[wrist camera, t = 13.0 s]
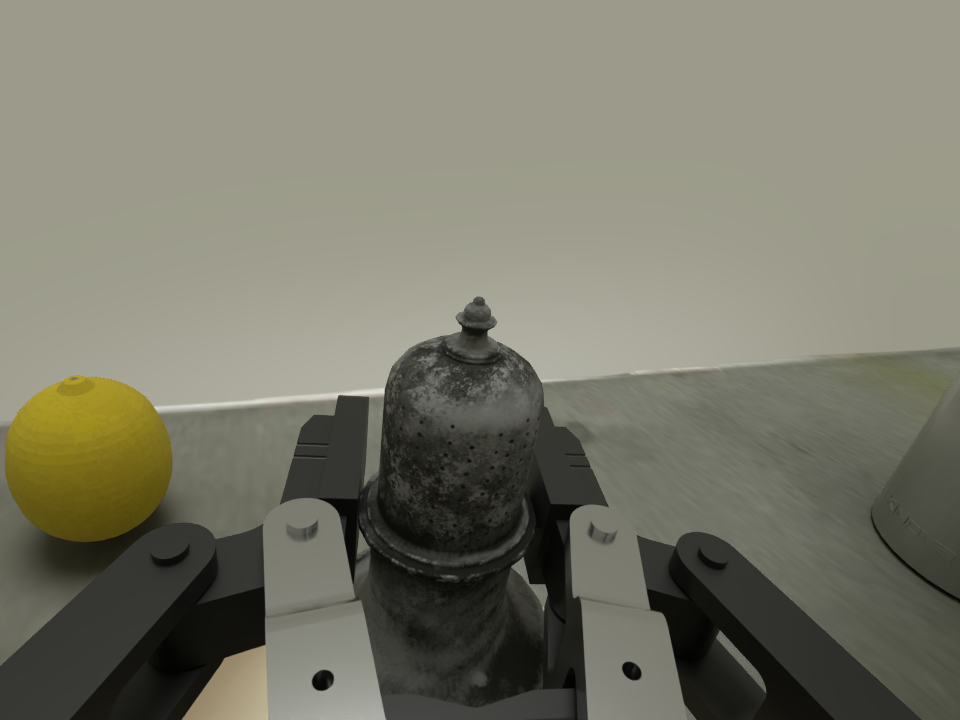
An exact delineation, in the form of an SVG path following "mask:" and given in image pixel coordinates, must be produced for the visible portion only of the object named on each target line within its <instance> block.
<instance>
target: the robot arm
mask: <svg viewBox="0 0 960 720" xmlns="http://www.w3.org/2000/svg"><path fill="white" fill-rule="evenodd" d="M368 411H369V397H362V396H343V395H339V396H338V400H337V405H336V410H335V415H334V416H328V415H314V416H313V417H311V418H310V419H309V420H308V421H307V422H306V423H305V424H304V425H303V426H302V427H301V431H300V434H299V438H298V441H297V445H296V449H295V452H294V458H293V460H292V463H291V467H290V470H289V474H288V478H287V481H286V485H285V488H284V492H283V496H282V499H281V503H280V505H279V506H277V507H276V508H275V509H273V510H272V511H271V512H270V513H269V514H268V516H267V517H266V519H265V521H264V524H262V525H261V526H259V527H257V528H255V529H253V530H250V531H247V532H244V533H241V534H237V535H232V536H228V537H224V538H219V539H215V538H214V536H213V534H212V533H211V532H210V531H209V530H208V529H206V528H205V527H203V526H200V525H197V524H193V523H175V524H169V525H165V526H162V527H159V528H157V529H154V530H152V531H150V532H148V533H147V534H145V535H143V536H142V537H140V538H139V539H138V540H137V541H136V542H134V543H133V544H132V545H131V546H130V547H129V548H128V549H127V550H126V551H125V552H124V553H123V554H121V555H120V556H119V557H118V558H117V559H116V560H115V561H114V562H113V563H112V564H111V565H109V566H108V567H107V568H106V569H105V570H104V571H103V572H102V573H101V574H100V575H99V576H98V577H96V578H95V579H94V580H93V581H92V582H91V583H90V584H89V585H88V586H87V587H86V588H84V589H83V590H82V591H81V592H80V593H79V594H78V595H77V596H76V597H75V598H74V599H73V600H71V601H70V602H69V603H68V604H67V605H66V606H65V607H64V608H63V609H62V610H61V611H59V612H58V613H57V614H56V615H55V616H54V617H53V618H52V619H51V620H50V621H49V622H48V623H46V624H45V625H44V626H43V627H42V628H41V629H40V630H39V631H38V632H37V633H36V634H35V635H33V636H32V637H31V638H30V639H29V640H28V641H27V642H26V643H25V644H24V645H23V646H21V647H20V648H19V649H18V650H17V651H16V652H15V653H14V654H13V655H12V656H11V657H10V658H8V659H7V660H6V661H5V662H4V663H3V664H2V665H1V666H0V720H182V719H183V717H184V716H185V715H186V713H187V712H188V710H189V709H190V708H191V706H192V705H193V703H194V702H195V701H196V699H197V698H198V696H199V695H200V693H201V692H202V691H203V689H204V688H205V686H206V685H207V684H208V682H209V681H210V679H211V678H212V677H213V675H214V674H215V672H216V671H217V669H218V668H219V667H220V665H221V664H222V662H223V660H224V658H226V657H229V656H233V655H236V654H239V653H242V652H245V651H248V650H251V649H255V648H258V647H261V646H264V645H266V670H267V702H268V720H687V716H686V711H685V706H684V704H685V705H686V706H687V708H688V709H689V710H690V712H691V713H692V714H693V715H694V717H695V718H696V719H697V720H921V719H920V718H919V717H918V716H917V715H916V714H915V713H914V712H913V711H912V710H910V709H909V708H908V707H907V706H906V705H905V704H904V703H903V702H902V701H901V700H900V699H898V698H897V697H896V696H895V695H894V694H893V693H892V692H891V691H890V690H889V689H888V688H886V687H885V686H884V685H883V684H882V683H881V682H880V681H879V680H878V679H877V678H876V677H874V676H873V675H872V674H871V673H870V672H869V671H868V670H867V669H866V668H865V667H864V666H862V665H861V664H860V663H859V662H858V661H857V660H856V659H855V658H854V657H853V656H851V655H850V654H849V653H848V652H847V651H846V650H845V649H844V648H843V647H842V646H841V645H839V644H838V643H837V642H836V641H835V640H834V639H833V638H832V637H831V636H830V635H829V634H827V633H826V632H825V631H824V630H823V629H822V628H821V627H820V626H819V625H818V624H817V623H815V622H814V621H813V620H812V619H811V618H810V617H809V616H808V615H807V614H806V613H805V612H803V611H802V610H801V609H800V608H799V607H798V606H797V605H796V604H795V603H794V602H793V601H791V600H790V599H789V598H788V597H787V596H786V595H785V594H784V593H783V592H782V591H781V590H779V589H778V588H777V587H776V586H775V585H774V584H773V583H772V582H771V581H770V580H769V579H767V578H766V577H765V576H764V575H763V574H762V573H761V572H760V571H759V570H758V569H757V568H755V567H754V566H753V565H752V564H751V563H750V562H749V561H748V560H747V559H746V558H745V557H743V556H742V555H741V554H740V553H739V552H738V551H737V550H736V549H735V548H734V547H732V546H731V545H730V544H728V543H727V542H725V541H724V540H722V539H720V538H718V537H716V536H713V535H710V534H707V533H702V532H690V533H686V534H684V535H683V536H681V537H680V538H679V540H678V542H677V544H676V547H674V546H671V545H667V544H663V543H660V542H656V541H652V540H649V539H646V538H643V537H640V536H638V535H636V532H635V529H634V527H633V526H632V524H631V523H630V522H629V521H628V519H627V518H625V517H624V516H623V515H622V514H620V513H619V512H617V511H615V510H613V509H611V508H609V507H608V504H607V502H606V500H605V497H604V495H603V493H602V491H601V488H600V486H599V484H598V482H597V479H596V477H595V475H594V473H593V470H592V469H590V464H589V461H588V459H587V457H585V452H584V450H583V448H582V446H581V443H580V441H579V439H577V438H576V437H575V436H574V435H573V434H572V433H571V432H570V431H569V430H568V429H567V428H566V427H555V426H554V424H553V421H552V419H551V416H550V414H549V411H548V409H547V407H544V410H543V414H542V418H541V423H540V427H539V431H538V436H537V440H536V444H535V449H534V453H533V458H532V462H531V466H530V471H529V475H528V479H527V484H526V488H525V491H526V492H527V493H528V496H529V498H530V500H531V502H532V505H533V508H534V512H535V517H536V522H537V525H536V529H535V533H534V537H533V541H532V544H531V546H530V547H529V549H528V550H527V552H526V553H525V554H524V556H523V557H524V561H525V565H526V570H527V574H528V578H529V583H530V584H546V588H547V592H548V596H547V600H546V603H545V607H544V642H543V690H532V691H529V692H526V693H522V694H519V695H516V696H513V697H510V698H507V699H504V700H501V701H498V702H495V703H492V704H489V705H486V706H483V707H477V708H474V707H468V706H464V705H459V704H455V703H451V702H447V701H442V700H438V699H434V698H429V697H425V696H421V695H416V694H399V695H381V694H380V689H379V684H378V679H377V674H376V669H375V664H374V659H373V654H372V649H371V644H370V639H369V634H368V629H367V624H366V619H365V614H364V610H363V606H362V602H361V600H360V598H359V597H358V598H355V594H354V589H353V584H354V579H355V569H356V558H357V548H358V538H359V524H358V514H359V504H360V494H361V491H362V489H363V486H364V476H365V464H366V449H367V430H368ZM872 517H873V520H874V523H875V526H876V528H877V529H878V531H879V533H880V534H881V536H882V538H883V539H884V540H885V541H886V542H887V543H888V545H889V546H890V547H891V548H892V549H893V551H894V552H895V553H897V554H898V555H899V556H900V557H901V558H902V559H903V560H904V561H905V562H906V563H907V564H908V565H909V566H911V567H912V568H913V569H915V570H916V571H917V572H919V573H920V574H921V575H922V576H924V577H925V578H926V579H928V580H929V581H931V582H932V583H934V584H935V585H937V586H939V587H940V588H942V589H943V590H945V591H946V592H948V593H949V594H951V595H953V596H955V597H957V598H959V599H960V370H959V372H958V373H957V375H956V377H955V378H954V380H953V381H952V383H951V384H950V386H949V387H948V389H947V391H946V392H945V394H944V395H943V397H942V398H941V400H940V401H939V403H938V405H937V406H936V408H935V409H934V411H933V412H932V414H931V415H930V417H929V419H928V420H927V422H926V423H925V425H924V426H923V428H922V430H921V431H920V433H919V434H918V436H917V437H916V439H915V440H914V442H913V444H912V445H911V447H910V448H909V450H908V451H907V453H906V454H905V456H904V457H903V459H902V461H901V462H900V464H899V465H898V467H897V469H896V470H895V472H894V473H893V475H892V477H891V478H890V480H889V481H888V483H887V484H886V486H885V488H884V489H883V491H882V492H881V494H880V495H879V497H878V498H877V500H876V502H875V503H874V505H873V508H872ZM720 630H721V632H722V633H723V634H724V635H725V636H726V637H727V638H728V639H729V640H730V641H731V642H732V643H733V645H734V646H735V647H736V648H737V649H738V650H739V651H740V652H741V653H742V654H743V655H744V656H745V657H746V659H747V660H748V661H749V662H750V663H751V664H752V665H753V666H754V667H755V668H756V670H757V671H758V672H759V674H760V675H761V677H762V679H763V681H764V683H765V686H766V693H765V692H764V691H763V689H762V688H761V687H760V686H759V685H758V684H757V683H756V682H755V681H754V679H753V678H752V677H751V676H750V675H749V674H748V673H747V672H746V671H745V670H744V668H743V667H742V666H741V665H740V664H739V663H738V662H737V661H736V660H735V659H734V657H733V656H732V655H731V654H730V653H729V652H728V651H727V650H726V649H725V647H724V646H723V645H722V644H721V643H720V642H719V641H718V640H717V639H716V637H717V635H718V633H719V631H720Z"/></svg>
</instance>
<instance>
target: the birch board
mask: <svg viewBox="0 0 960 720" xmlns="http://www.w3.org/2000/svg"><path fill="white" fill-rule="evenodd" d="M543 610H544V608H543ZM182 720H268V702H267V670H266V645H264V646H261V647H258V648H255V649H251V650H248V651H245V652H242V653H239V654H236V655H233V656H229V657H226V658H224V660H223V662H222V664H221V665H220V667H219V668H218V669H217V671H216V672H215V674H214V675H213V677H212V678H211V679H210V681H209V682H208V684H207V685H206V686H205V688H204V689H203V691H202V692H201V693H200V695H199V696H198V698H197V699H196V701H195V702H194V703H193V705H192V706H191V708H190V709H189V710H188V712H187V713H186V715H185V716H184V717H183V719H182Z"/></svg>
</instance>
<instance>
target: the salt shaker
mask: <svg viewBox="0 0 960 720" xmlns="http://www.w3.org/2000/svg"><path fill="white" fill-rule="evenodd" d="M456 319H457V321H458V323H459V324H460V325H462V331H461V332H458V333H455V334H452V335H448V336H440V337H437V338H433V339H430V340H427V341H424V342H421V343H419V344H417V345H415V346H413V347H411V348H409V349H408V351H406V352H405V353H404V354H403V355H402V356H401V357H400V358H399V359H398V361H397V362H396V363H395V364H394V365H393V366H392V368H391V371H390V374H389V377H388V380H387V384H386V388H385V395H384V410H383V424H382V439H381V454H380V468H379V471H378V472H377V473H376V474H374V475H373V476H372V477H371V478H370V479H369V481H368V482H367V484H366V485H365V487H364V488H363V489H362V491H361V494H360V504H359V514H358V524H359V529H360V531H361V533H362V534H363V536H364V538H365V540H366V542H367V544H368V546H369V548H368V549H366V550H364V551H362V552H361V553H359V554H357V558H356V569H355V579H354V584H353V589H354V594H355V598H358V597H359V598H360V600H361V602H362V606H363V610H364V614H365V619H366V624H367V629H368V634H369V639H370V644H371V649H372V654H373V659H374V664H375V669H376V674H377V679H378V684H379V689H380V694H381V695H399V694H416V695H421V696H425V697H429V698H434V699H438V700H442V701H447V702H451V703H455V704H459V705H464V706H468V707H474V708H477V707H483V706H486V705H489V704H492V703H495V702H498V701H501V700H504V699H507V698H510V697H513V696H516V695H519V694H522V693H526V692H529V691H532V690H543V642H544V610H543V608H542V606H541V603H540V601H539V599H538V598H537V596H536V595H535V594H534V592H533V591H532V589H531V588H530V587H529V585H528V584H527V583H526V581H525V580H524V579H523V577H522V576H521V575H519V574H518V573H517V572H516V571H515V570H513V569H512V568H511V566H512V565H514V564H515V563H516V562H518V561H519V560H520V559H522V557H523V556H524V554H525V553H526V552H527V550H528V549H529V547H530V546H531V544H532V541H533V537H534V533H535V529H536V525H537V522H536V517H535V512H534V508H533V505H532V502H531V500H530V498H529V496H528V493H527V492H526V491H525V488H526V484H527V479H528V475H529V471H530V466H531V462H532V458H533V453H534V449H535V444H536V440H537V436H538V431H539V427H540V423H541V418H542V414H543V410H544V393H543V388H542V383H541V381H540V380H539V378H538V376H537V374H536V372H535V371H534V369H533V368H532V366H531V365H530V363H529V362H528V361H526V360H525V359H524V358H523V357H522V356H520V355H519V354H518V353H516V352H515V351H514V350H512V349H510V348H509V347H507V346H505V345H503V344H502V343H499V342H496V341H495V340H494V339H492V338H491V337H489V336H488V335H487V331H488V330H489V329H491V328H493V327H495V325H496V324H497V321H496V319H495V318H494V317H493V316H491V310H490V308H489V307H488V306H487V305H486V304H485V300H484V299H483V298H482V297H476V298H475V299H474V300H473V302H472V303H469V304H468V305H467V306H466V307H465V309H464V312H460V313H458V315H457V316H456Z"/></svg>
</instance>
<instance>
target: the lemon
mask: <svg viewBox="0 0 960 720" xmlns="http://www.w3.org/2000/svg"><path fill="white" fill-rule="evenodd" d="M5 470H6V478H7V482H8V486H9V489H10V492H11V494H12V496H13V498H14V500H15V501H16V503H17V505H18V506H19V508H20V509H21V511H22V512H23V514H24V515H25V516H26V518H27V519H28V520H29V521H30V522H31V523H33V524H34V525H35V526H37V527H38V528H40V529H41V530H43V531H44V532H46V533H47V534H50V535H52V536H54V537H58V538H61V539H65V540H69V541H76V542H93V541H101V540H106V539H110V538H113V537H117V536H119V535H121V534H124V533H126V532H128V531H130V530H131V529H133V528H134V527H136V526H138V525H139V524H141V523H142V522H143V521H144V520H145V519H147V518H148V517H149V516H150V515H151V514H152V513H153V512H154V511H155V509H156V508H157V506H158V505H159V504H160V502H161V501H162V499H163V498H164V496H165V493H166V491H167V488H168V485H169V482H170V478H171V474H172V452H171V444H170V439H169V436H168V433H167V430H166V428H165V425H164V423H163V421H162V419H161V418H160V416H159V414H158V413H157V411H156V410H155V408H154V407H153V405H152V404H151V403H150V401H149V400H148V399H147V398H146V397H145V396H144V395H142V394H141V393H140V392H138V391H137V390H135V389H134V388H132V387H130V386H128V385H126V384H123V383H121V382H117V381H115V380H112V379H105V378H98V377H84V376H78V375H77V376H71V377H68V378H66V379H65V380H64V381H62V382H59V383H56V384H54V385H52V386H49V387H48V388H46V389H44V390H43V391H41V392H39V393H38V394H36V395H35V396H34V397H32V398H31V399H30V400H29V401H28V402H27V403H26V404H25V405H24V406H23V407H22V408H21V409H20V410H19V412H18V413H17V415H16V417H15V418H14V420H13V422H12V424H11V426H10V428H9V431H8V434H7V438H6V447H5Z"/></svg>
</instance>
